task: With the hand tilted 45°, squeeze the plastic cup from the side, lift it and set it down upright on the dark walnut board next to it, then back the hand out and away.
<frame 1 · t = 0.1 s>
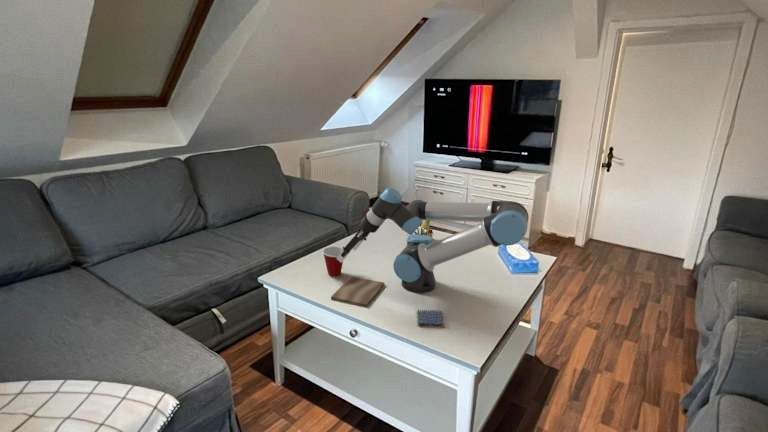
hand: (346, 254, 177), 15 cm above the table, tool tilted 35°, fingers open, 13 cm apart
plastic cup: (335, 274, 193), on the table
chocolate bunny: (426, 242, 232), on the table
woven mat: (430, 321, 158), on the table
walnut board: (358, 291, 177), on the table
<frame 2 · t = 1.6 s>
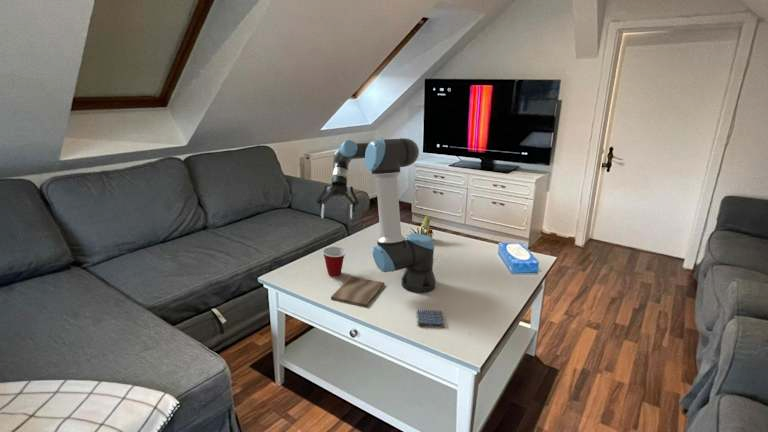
hand: (336, 217, 195), 24 cm above the table, tool tilted 45°, fingers open, 13 cm apart
nothing on the table moved.
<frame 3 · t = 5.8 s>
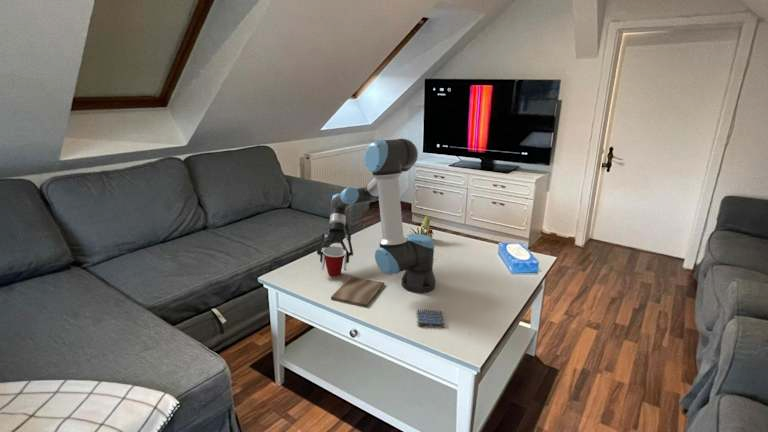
hand: (333, 269, 188), 4 cm above the table, tool tilted 45°, fingers closed on plastic cup, 9 cm apart
plastic cup: (334, 274, 193), on the table, touching gripper
everything else where it was.
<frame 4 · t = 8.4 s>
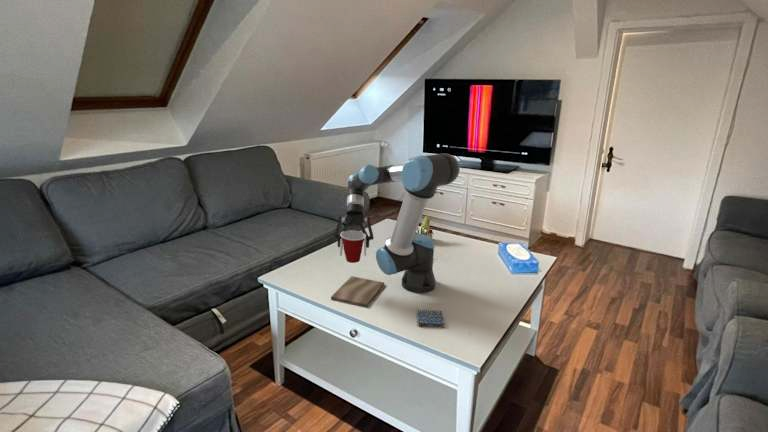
hand: (352, 254, 171), 18 cm above the table, tool tilted 45°, fingers closed on plastic cup, 9 cm apart
plastic cup: (353, 260, 176), point 13 cm above the table, touching gripper
everything else where it was.
when the fingers open (7 cm above the table, at t = 11.2 s): plastic cup drops 1 cm, resting on walnut board.
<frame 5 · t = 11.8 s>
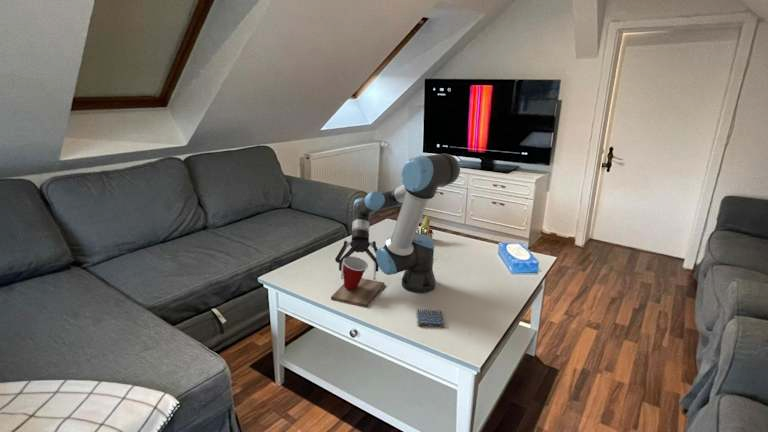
hand: (358, 278, 172), 8 cm above the table, tool tilted 45°, fingers open, 13 cm apart
plastic cup: (350, 287, 178), point 2 cm above the table, touching gripper, walnut board
everything else where it was.
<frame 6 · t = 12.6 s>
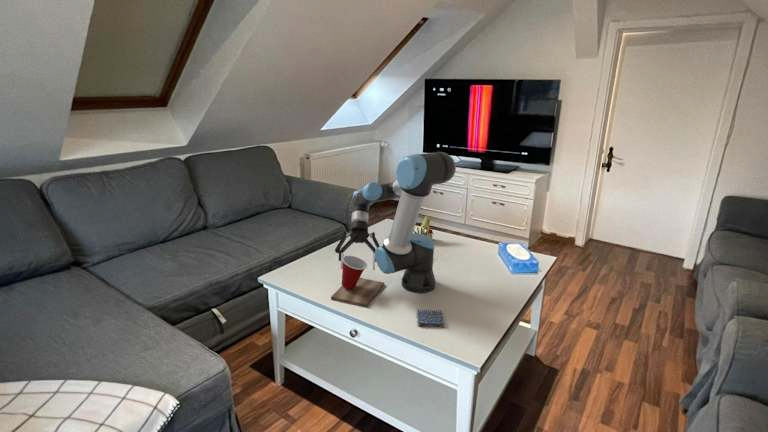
hand: (357, 268, 175), 10 cm above the table, tool tilted 45°, fingers open, 13 cm apart
plastic cup: (348, 286, 178), point 2 cm above the table, touching walnut board
everything else where it was.
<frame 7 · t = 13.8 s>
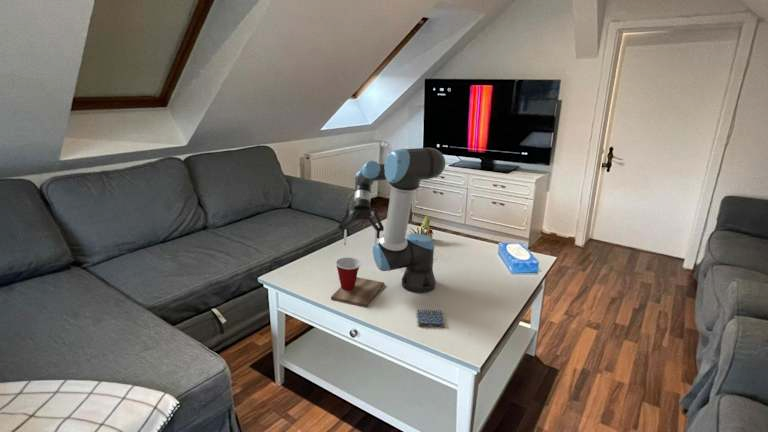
hand: (360, 244, 181), 18 cm above the table, tool tilted 45°, fingers open, 13 cm apart
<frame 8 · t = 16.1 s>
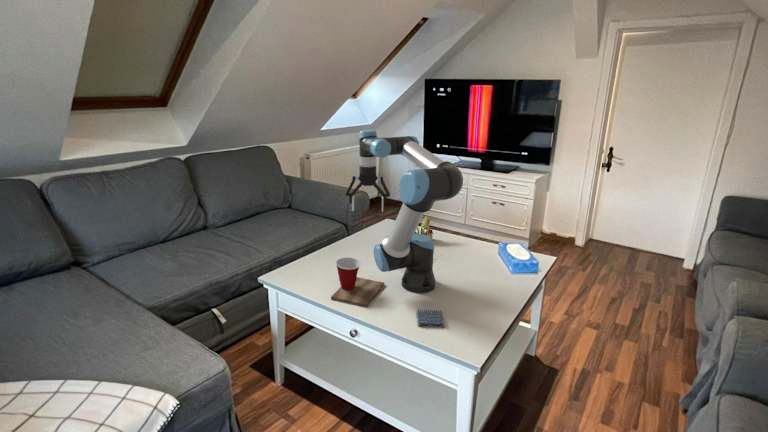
hand: (367, 210, 191), 29 cm above the table, tool pointing down, fingers open, 13 cm apart
at the end: plastic cup inside the target area on the walnut board (4.8 cm from its centre), point 1.0 cm above the walnut board's base; plastic cup tilted 0°; the gripper is holding nothing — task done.
